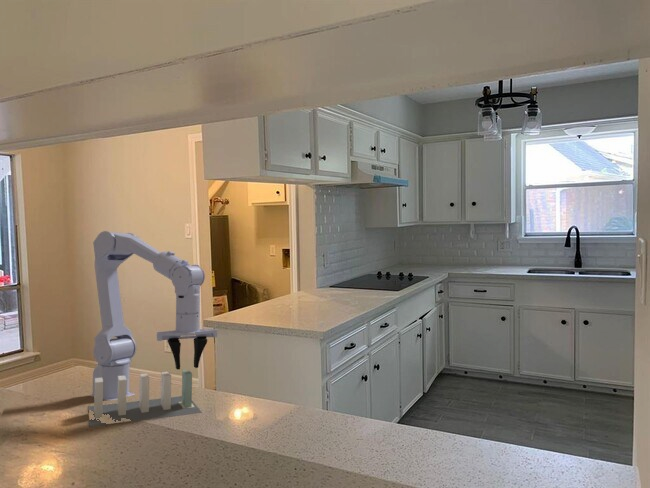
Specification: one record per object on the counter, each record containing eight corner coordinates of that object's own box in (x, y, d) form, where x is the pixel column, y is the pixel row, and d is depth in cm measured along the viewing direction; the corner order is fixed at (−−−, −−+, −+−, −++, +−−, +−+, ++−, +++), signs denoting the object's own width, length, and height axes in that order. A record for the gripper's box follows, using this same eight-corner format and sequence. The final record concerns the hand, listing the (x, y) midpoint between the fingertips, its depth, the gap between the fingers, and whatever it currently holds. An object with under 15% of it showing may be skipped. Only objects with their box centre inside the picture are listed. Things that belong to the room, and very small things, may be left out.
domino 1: (94, 418, 112) (95, 382, 112) (94, 412, 116) (94, 378, 116) (102, 417, 112) (103, 381, 113) (101, 411, 117) (102, 377, 117)
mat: (89, 428, 106) (89, 427, 106) (87, 408, 121) (88, 406, 121) (202, 414, 116) (202, 412, 116) (188, 397, 131) (188, 395, 131)
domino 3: (141, 412, 116) (142, 378, 116) (139, 407, 120) (139, 374, 121) (148, 411, 117) (149, 377, 117) (146, 406, 121) (146, 373, 121)
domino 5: (184, 407, 120) (185, 374, 121) (181, 402, 125) (182, 370, 125) (191, 406, 121) (192, 373, 121) (188, 401, 126) (188, 369, 126)
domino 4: (163, 410, 118) (164, 376, 119) (160, 404, 123) (161, 372, 123) (170, 409, 119) (171, 375, 119) (167, 403, 123) (167, 371, 124)
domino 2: (118, 415, 114) (119, 380, 114) (117, 409, 118) (117, 376, 119) (126, 414, 114) (126, 379, 115) (124, 409, 119) (124, 375, 119)
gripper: (159, 315, 117) (158, 373, 117) (220, 313, 124) (219, 368, 123) (155, 313, 123) (154, 368, 123) (213, 311, 130) (213, 363, 129)
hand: (187, 367), depth 123 cm, fingers open, 4 cm apart
